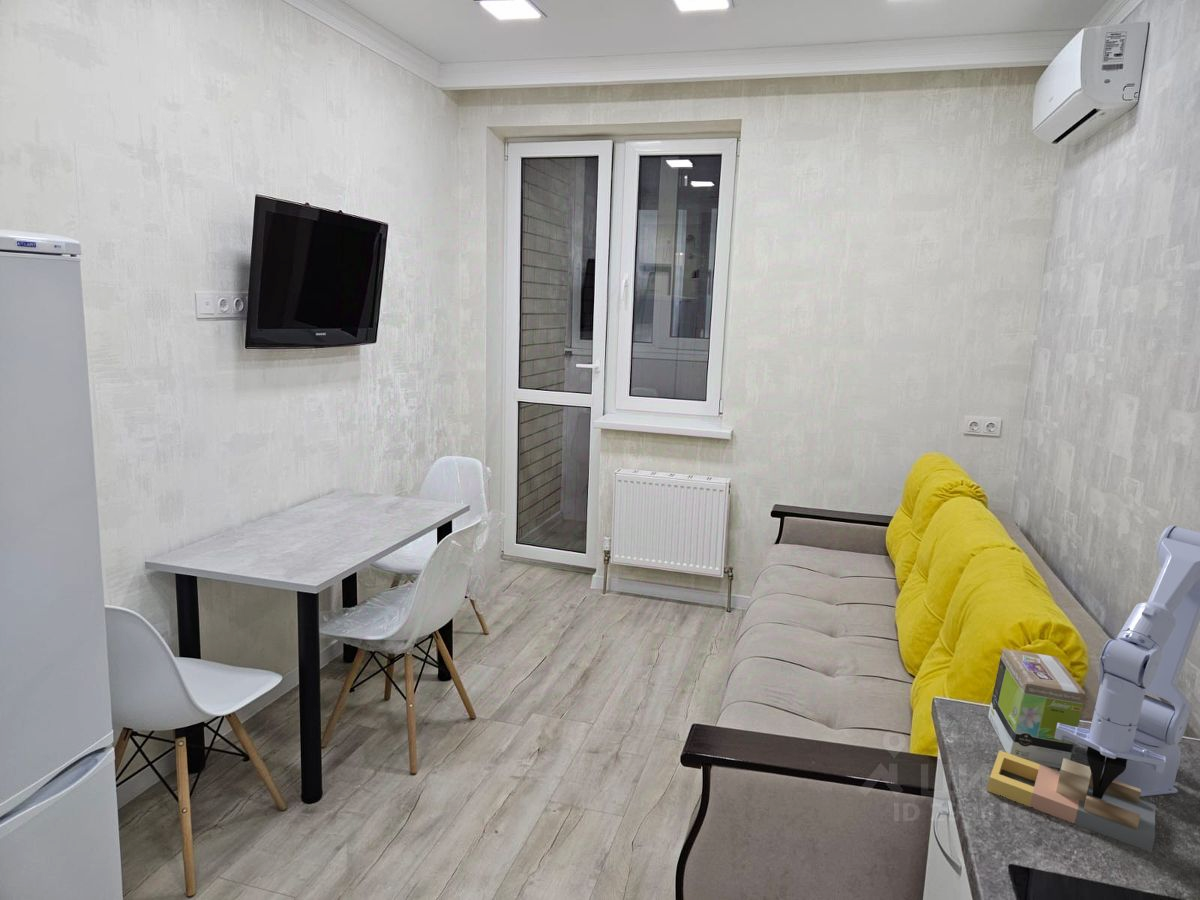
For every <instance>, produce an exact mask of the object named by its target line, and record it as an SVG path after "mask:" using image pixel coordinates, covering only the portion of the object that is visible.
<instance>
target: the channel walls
mask: <svg viewBox="0 0 1200 900" xmlns="http://www.w3.org/2000/svg"><path fill="white" fill-rule="evenodd" d="M1101 777H1102V775H1101ZM1100 780H1101V779H1100ZM1089 786H1090V787H1093V780H1092V774H1091V776H1090V782H1089ZM1105 792H1107V793H1110V794H1113V795H1116V796H1119V797H1121V798H1124V799H1127V800H1130V801H1133V802H1136V803H1138V802H1139V799H1140V794H1141V789H1139V788H1136V787H1133V786H1131V785H1128V784H1125V783H1122V782H1119V781H1116V780H1113V782H1112V783H1111V784H1110V785H1109V787H1108V788H1107V789H1106V791H1105ZM1084 810H1085V811H1088V812H1091V813H1093V814H1096V815H1099V816H1101V817H1104V818H1107V819H1110V820H1112V821H1115V822H1118V823H1121V824H1123V825H1126V826H1129V827H1131V828H1134V829H1137V828H1138V824H1139V820H1140V814H1138V813H1135V812H1132V811H1129V810H1126V809H1124V808H1121V807H1118V806H1115V805H1112V804H1110V803H1107V802H1104V801H1101V800H1098V799H1096V798H1093V797H1090V796H1086V800H1085V805H1084Z"/></svg>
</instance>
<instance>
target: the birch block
mask: <svg viewBox="0 0 1200 900" xmlns="http://www.w3.org/2000/svg"><path fill="white" fill-rule="evenodd" d="M1059 771H1060V775H1059V779H1058V784H1057V789H1056V792H1058V793H1061V794H1064V795H1067V796H1069V797H1072V798H1075V799H1078V800H1080V801H1083V802H1085V799H1086V795H1087V790H1088V786H1089V782H1090V776H1091V770H1090V766H1089V765H1085V764H1082V763H1079V762H1077V761H1074V760H1071V759H1070V760H1068V759H1065V758H1063V762H1062V766H1061V769H1060V770H1059Z"/></svg>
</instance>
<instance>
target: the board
mask: <svg viewBox="0 0 1200 900" xmlns="http://www.w3.org/2000/svg"><path fill="white" fill-rule="evenodd" d="M1060 771H1061V770H1057V769H1056V768H1053V767H1048V766H1043V765H1040V764H1038V763H1035V762H1032V761H1029V760H1026V759H1023V758H1020V757H1018V756H1015V755H1012V754H1009V753H1006V751H1003V750H999V751H998V753H997V755H996V759H995V762H994V764H993V767H992V769H991V772H990V776H989V778H988V785H987V790H986V791H987V792H989V793H992V794H995V795H996V796H1000V795H1001V796H1000V797H1002V796H1004V797H1003V798H1005V797H1006V798H1005V799H1008V800H1011V801H1014V802H1015V801H1016V803H1018V804H1021V805H1023V804H1024V806H1026V807H1029V808H1031V807H1033V808H1032V809H1035V810H1036V811H1040V812H1043V813H1045V814H1047V815H1050V816H1053V817H1055V818H1058V817H1059V818H1058V819H1061V818H1062V819H1061V820H1063V819H1064V821H1066V820H1067V822H1069V821H1070V822H1069V823H1071V822H1072V823H1071V824H1074V823H1075V824H1074V825H1076V824H1077V825H1076V826H1079V825H1080V826H1079V827H1082V826H1083V827H1082V828H1084V827H1085V828H1084V829H1088V830H1091V831H1092V830H1093V831H1092V832H1094V833H1095V832H1096V833H1098V834H1100V835H1103V836H1106V837H1109V838H1111V839H1114V840H1116V841H1119V842H1122V843H1125V844H1127V845H1131V846H1133V847H1136V848H1137V849H1141V850H1143V851H1145V852H1148V853H1152V851H1153V847H1154V842H1155V839H1156V804H1154V803H1151V802H1148V801H1147V800H1146V801H1145V800H1143V799H1140V798H1139V802H1138V803H1136V802H1133V801H1130V800H1127V799H1124V798H1121V797H1119V796H1116V795H1113V794H1110V793H1107V792H1105V793H1104V795H1103V797H1102V799H1100V798H1097V797H1094V796H1092V794H1093V787H1090V786H1088V790H1087V795H1086V796H1090V797H1093V798H1096V799H1098V800H1101V801H1104V802H1107V803H1110V804H1112V805H1115V806H1118V807H1121V808H1124V809H1126V810H1129V811H1132V812H1135V813H1138V814H1140V820H1139V824H1138V828H1137V829H1134V828H1131V827H1129V826H1126V825H1123V824H1121V823H1118V822H1115V821H1112V820H1110V819H1107V818H1104V817H1101V816H1099V815H1096V814H1093V813H1091V812H1088V811H1085V810H1084V805H1085V802H1083V801H1080V800H1078V799H1075V798H1072V797H1069V796H1067V795H1064V794H1061V793H1058V792H1056V789H1057V784H1058V779H1059V775H1060ZM1085 800H1086V799H1085Z"/></svg>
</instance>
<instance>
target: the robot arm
mask: <svg viewBox="0 0 1200 900" xmlns="http://www.w3.org/2000/svg"><path fill="white" fill-rule="evenodd" d="M1156 550H1157V552H1156V553H1157V556H1158V565H1159V566H1160V567H1161V570H1160V572H1159V574H1158V577H1157V579H1156V582H1155V584H1154V586H1153V589H1152V590H1151V593H1150V595H1149V598H1148V600H1147V601H1146V602H1139V603H1137V604H1136V605H1135V606H1134V608H1132V611H1131V613H1130V614H1129V616H1128V618H1127V619H1126V621H1125V623H1124V625H1122V626H1123V627H1121V628H1122V629H1121V630H1120V631H1119V632H1118V635H1117V636H1116V638H1115V639H1113V638H1110V639H1108V640H1107V641H1106V642H1105V644H1104V646H1103V648H1102V650H1101V652H1100V656H1099V659H1098V670H1099V672H1098V678H1097V680H1098V683H1099V688H1098V694H1097V697H1096V703H1095V706H1094V711H1093V715H1092V720H1091V725H1090V729H1089V728H1084V727H1079V726H1078V727H1074V726H1069V725H1065V724H1061V723H1057V728H1056V732H1055V737H1054V738H1055V739H1058V740H1062V739H1064V740H1067V741H1070V742H1073V743H1074V744H1075V745H1079V746H1083V747H1086V748H1087V749H1086V750H1087V752H1086V760H1087V763H1088V767H1090V770H1091V774H1092V780H1093V794H1092V796H1094V797H1097V798H1100V799H1102V797H1103V795H1104V793H1105V791H1106V789H1107V788H1108V787H1109V785H1110V784H1111V783H1112V782H1113V780H1116V781H1119V782H1122V783H1125V784H1128V785H1131V786H1133V787H1136V788H1139V789H1141V794H1140V797H1146V796H1147V797H1149V796H1151V797H1152V796H1157V795H1167V794H1169V795H1170V794H1177V793H1178V788H1176V787H1174V786H1175V782H1176V777H1177V773H1178V770H1179V766H1180V762H1181V758H1182V752H1181V747H1180V745H1179V744H1180V743H1179V742H1181V741H1182V738H1183V737H1184V734H1185V732H1186V729H1187V725H1188V723H1189V715H1190V712H1191V703H1190V701H1189V699H1188V697H1187V696H1186V695H1185V694H1184V693H1183V691H1182V690H1181V688H1180V687H1179V686H1178V683H1179V682H1178V681H1179V678H1180V675H1181V673H1182V670H1183V668H1184V665H1185V662H1186V659H1187V656H1188V653H1189V651H1190V648H1191V647H1192V646H1191V645H1192V642H1193V640H1194V637H1195V635H1196V631H1197V630H1198V626H1199V623H1200V531H1199V532H1198V531H1195V530H1192V529H1188V528H1184V527H1179V526H1177V525H1175V524H1171V525H1169V526H1168V527H1166V528H1165V529H1164V530H1163V531H1162V532H1161V535H1160V537H1159V541H1158V544H1157V549H1156ZM1146 693H1148V694H1150V695H1152V696H1155V697H1158V698H1160V699H1163V700H1166V701H1167V702H1169V703H1167V702H1165V701H1163V700H1160V699H1157V698H1154V697H1152V696H1150V695H1147V694H1146ZM1170 703H1171V704H1170ZM1101 775H1102V777H1101ZM1100 779H1101V780H1100Z"/></svg>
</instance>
